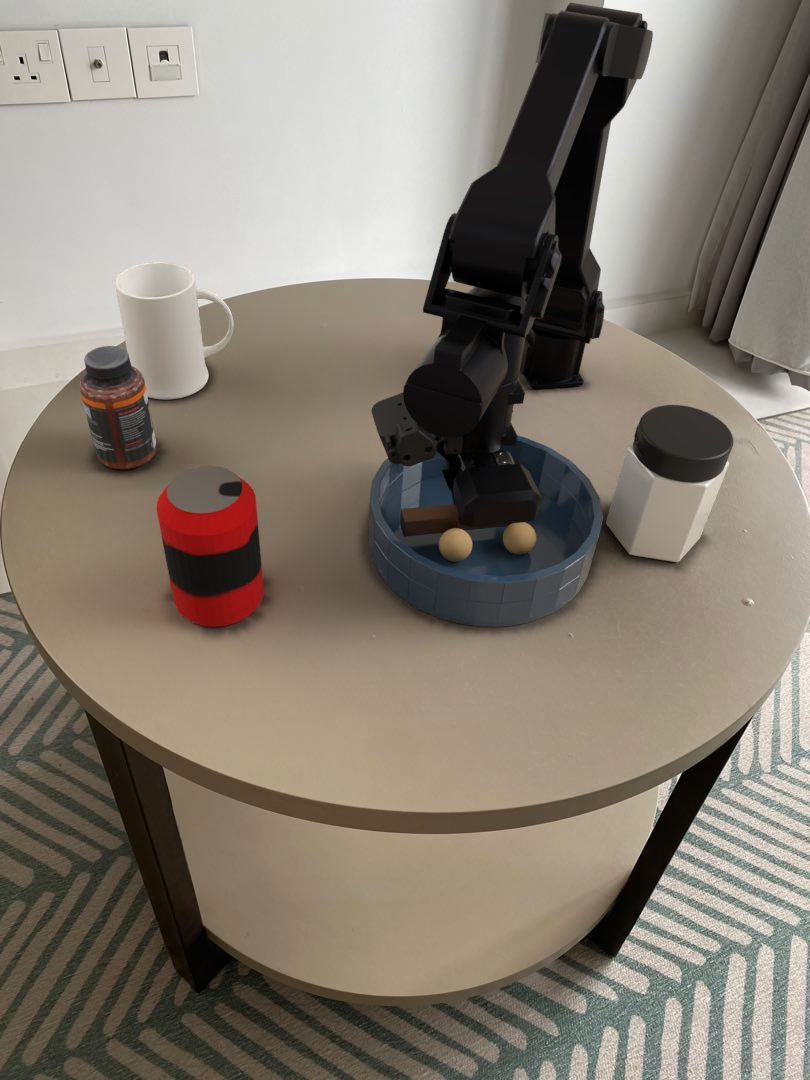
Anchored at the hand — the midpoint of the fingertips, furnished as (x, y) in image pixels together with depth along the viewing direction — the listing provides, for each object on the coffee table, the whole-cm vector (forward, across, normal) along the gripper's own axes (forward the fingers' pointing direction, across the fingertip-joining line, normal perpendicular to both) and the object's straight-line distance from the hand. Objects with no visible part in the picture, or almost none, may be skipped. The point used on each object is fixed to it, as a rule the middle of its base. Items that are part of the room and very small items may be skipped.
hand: (462, 516), depth 79 cm
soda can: (+4, +4, -22) cm, 23 cm away
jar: (+3, +2, +19) cm, 19 cm away
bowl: (+3, 0, +2) cm, 4 cm away
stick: (+1, 0, 0) cm, 1 cm away
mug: (+3, -30, -24) cm, 39 cm away
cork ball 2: (+1, +2, +5) cm, 6 cm away
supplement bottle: (+3, -18, -30) cm, 35 cm away
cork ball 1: (+1, +2, -1) cm, 3 cm away
